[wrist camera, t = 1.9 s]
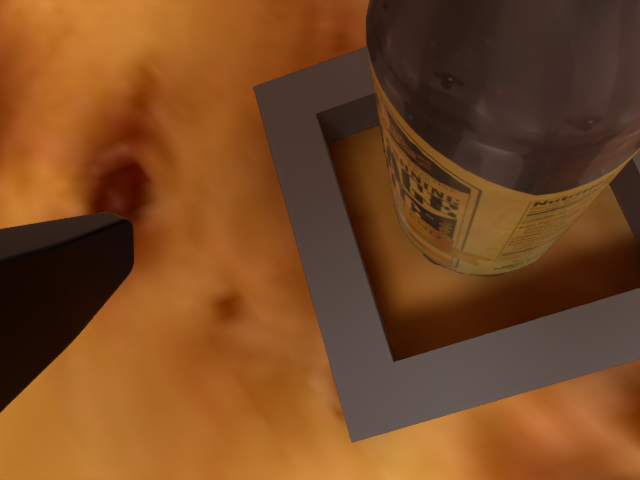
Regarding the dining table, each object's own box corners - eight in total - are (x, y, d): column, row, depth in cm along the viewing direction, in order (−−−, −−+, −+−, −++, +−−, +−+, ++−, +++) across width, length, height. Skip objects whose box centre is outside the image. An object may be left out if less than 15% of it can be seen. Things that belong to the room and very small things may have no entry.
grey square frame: (360, 439, 21) (351, 442, 18) (269, 117, 25) (253, 87, 23) (746, 326, 20) (789, 315, 17) (581, 8, 24) (598, -36, 22)
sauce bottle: (383, 149, 24) (202, -828, 5) (541, 116, 23) (1031, -1200, 4) (412, 307, 22) (295, -333, 3) (587, 278, 21) (1892, -842, 2)
